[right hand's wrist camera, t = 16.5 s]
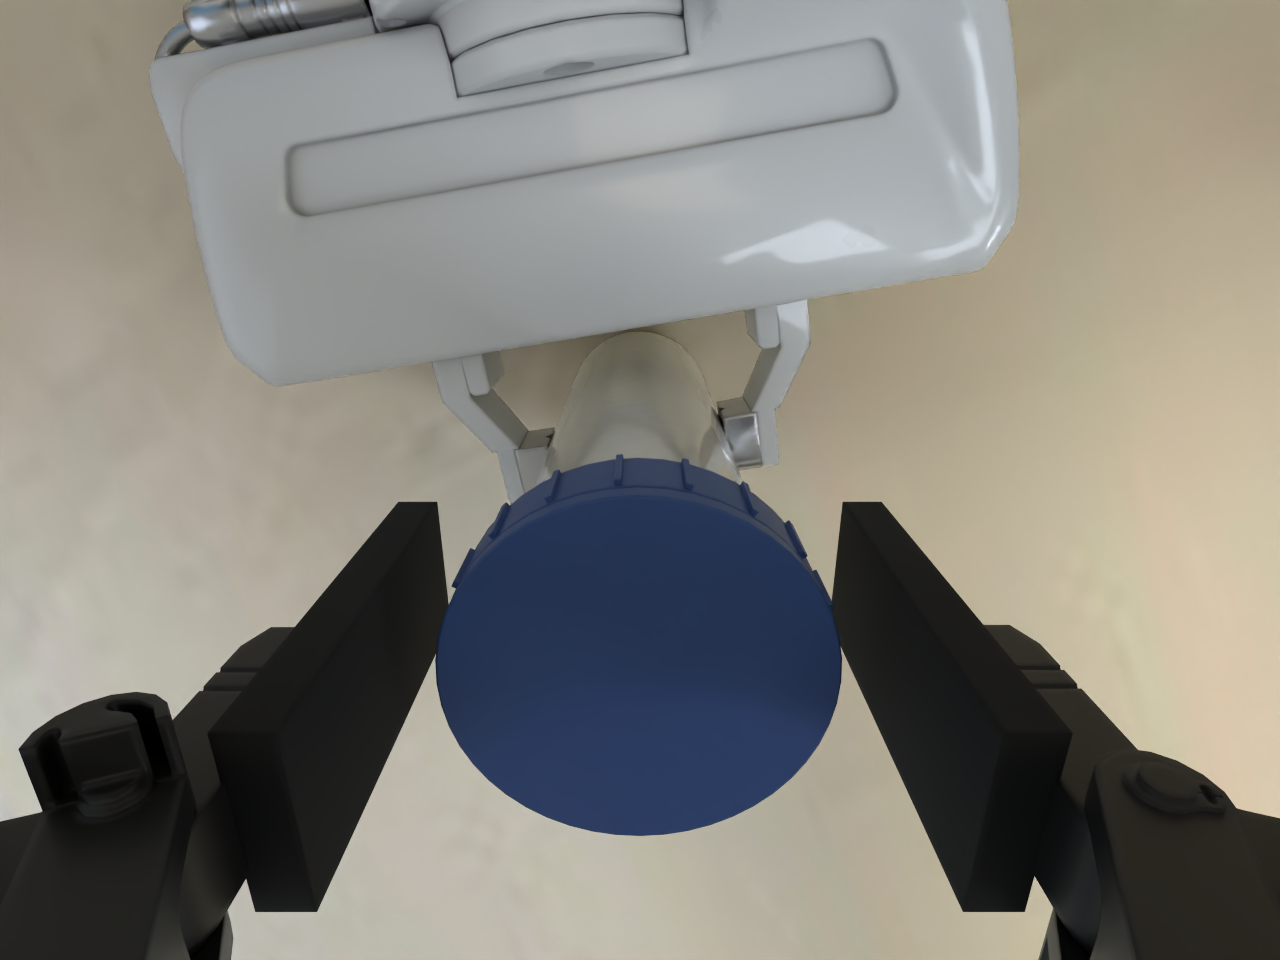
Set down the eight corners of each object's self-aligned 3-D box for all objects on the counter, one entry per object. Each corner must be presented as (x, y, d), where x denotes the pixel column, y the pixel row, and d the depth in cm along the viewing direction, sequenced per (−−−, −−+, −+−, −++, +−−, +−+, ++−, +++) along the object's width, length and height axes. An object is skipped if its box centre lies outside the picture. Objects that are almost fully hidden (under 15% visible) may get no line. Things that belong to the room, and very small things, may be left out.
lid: (897, 592, 12) (935, 649, 10) (670, 818, 14) (674, 895, 12) (600, 373, 11) (593, 401, 9) (390, 653, 12) (355, 717, 11)
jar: (576, 462, 28) (495, 782, 12) (569, 332, 26) (464, 515, 10) (705, 460, 28) (788, 779, 12) (707, 329, 26) (808, 509, 10)
